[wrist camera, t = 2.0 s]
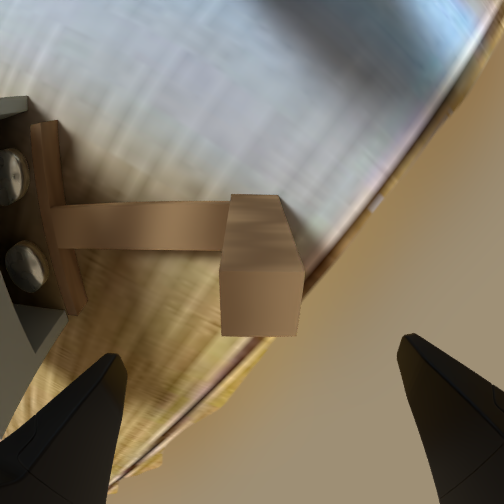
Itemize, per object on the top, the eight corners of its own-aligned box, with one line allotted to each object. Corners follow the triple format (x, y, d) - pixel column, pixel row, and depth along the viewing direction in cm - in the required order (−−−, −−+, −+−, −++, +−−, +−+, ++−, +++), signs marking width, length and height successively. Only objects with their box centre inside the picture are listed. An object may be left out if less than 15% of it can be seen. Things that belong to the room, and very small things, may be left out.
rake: (281, 103, 17) (319, 93, 8) (270, 308, 24) (282, 416, 15) (47, 122, 16) (-56, 147, 8) (78, 299, 23) (24, 382, 14)
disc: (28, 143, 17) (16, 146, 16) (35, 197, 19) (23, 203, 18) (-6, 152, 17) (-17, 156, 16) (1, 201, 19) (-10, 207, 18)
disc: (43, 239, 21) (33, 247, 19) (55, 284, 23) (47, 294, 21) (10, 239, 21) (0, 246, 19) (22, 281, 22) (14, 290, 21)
